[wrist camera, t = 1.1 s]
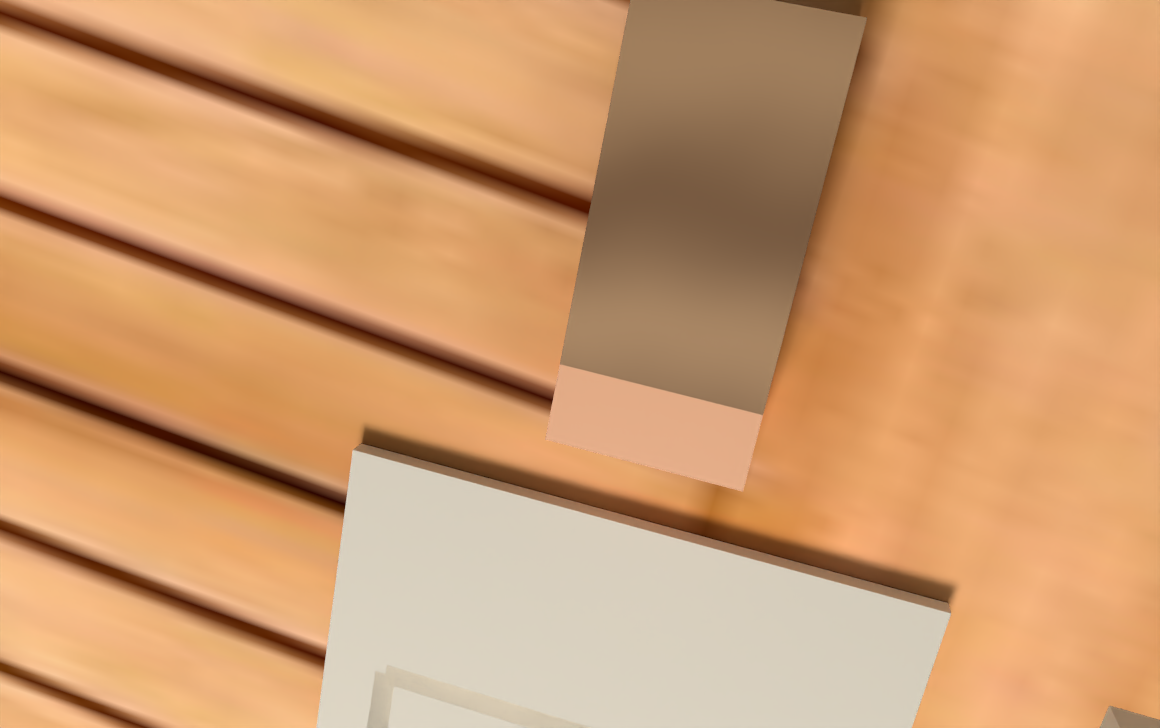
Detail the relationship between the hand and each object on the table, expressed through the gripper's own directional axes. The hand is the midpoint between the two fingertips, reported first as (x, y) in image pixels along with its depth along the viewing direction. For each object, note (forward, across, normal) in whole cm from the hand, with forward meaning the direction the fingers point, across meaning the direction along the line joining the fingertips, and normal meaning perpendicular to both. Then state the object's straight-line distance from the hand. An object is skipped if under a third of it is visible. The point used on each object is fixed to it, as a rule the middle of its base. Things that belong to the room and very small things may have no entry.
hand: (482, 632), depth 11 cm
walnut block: (+18, 0, +2) cm, 18 cm away
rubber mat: (+17, +1, -18) cm, 25 cm away
